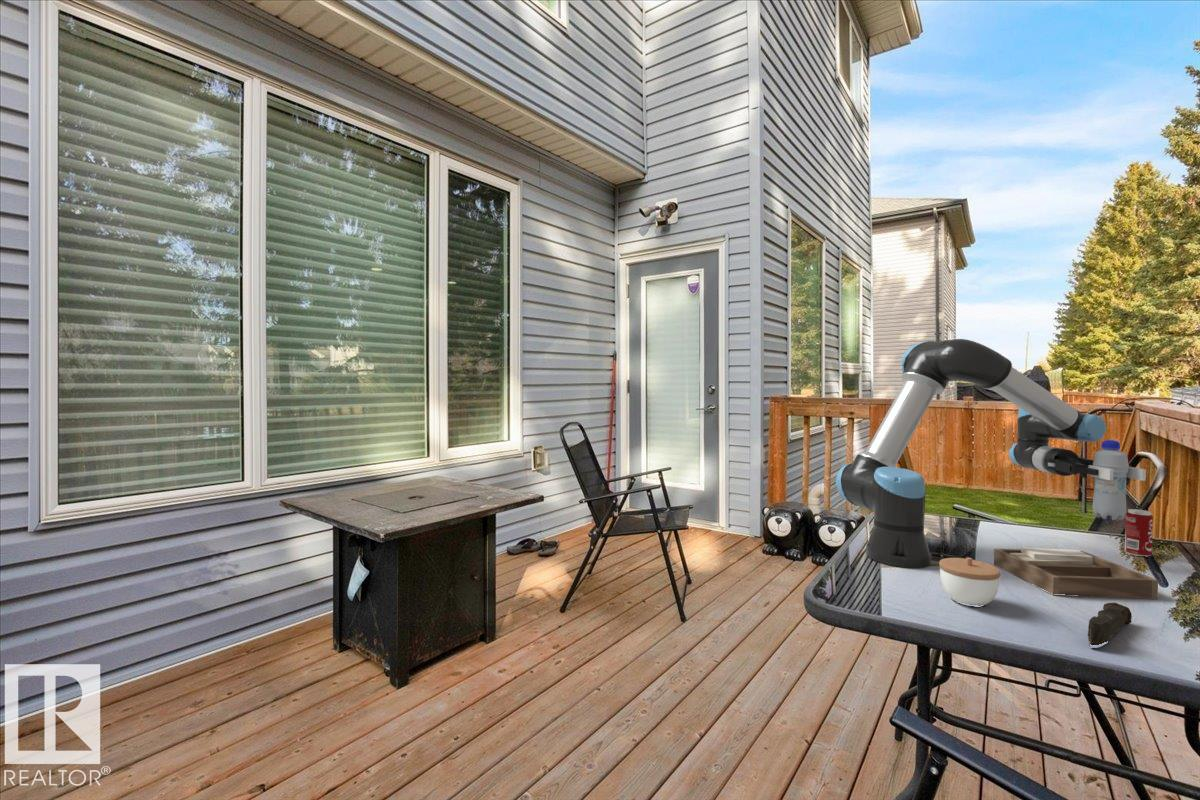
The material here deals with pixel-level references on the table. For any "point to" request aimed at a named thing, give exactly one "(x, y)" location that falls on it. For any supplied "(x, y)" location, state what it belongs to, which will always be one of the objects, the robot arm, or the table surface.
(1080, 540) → the table surface
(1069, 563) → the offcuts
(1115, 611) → the dark brown lumpy bar
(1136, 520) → the soda can
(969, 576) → the lidded jar
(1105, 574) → the tray
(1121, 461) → the bottle
